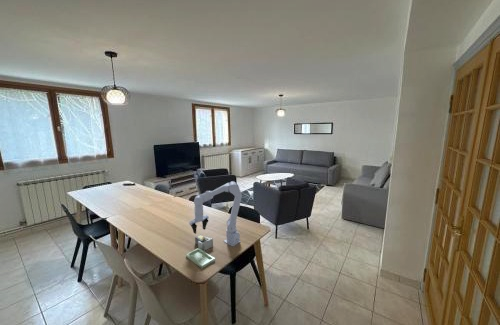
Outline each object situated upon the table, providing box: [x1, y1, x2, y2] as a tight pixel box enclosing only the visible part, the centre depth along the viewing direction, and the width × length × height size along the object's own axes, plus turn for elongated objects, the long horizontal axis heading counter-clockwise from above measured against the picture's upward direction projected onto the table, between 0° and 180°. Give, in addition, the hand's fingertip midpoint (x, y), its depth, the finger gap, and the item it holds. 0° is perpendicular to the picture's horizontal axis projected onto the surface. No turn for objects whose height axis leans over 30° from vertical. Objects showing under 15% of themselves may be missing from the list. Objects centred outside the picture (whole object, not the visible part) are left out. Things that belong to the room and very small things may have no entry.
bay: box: [197, 236, 214, 252], centre depth 138 cm, size 6×8×6 cm
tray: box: [185, 248, 216, 269], centre depth 125 cm, size 17×10×2 cm, turn 49°
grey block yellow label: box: [194, 234, 208, 246], centre depth 140 cm, size 9×5×6 cm, turn 49°
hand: (199, 231), depth 141 cm, fingers open, 7 cm apart
